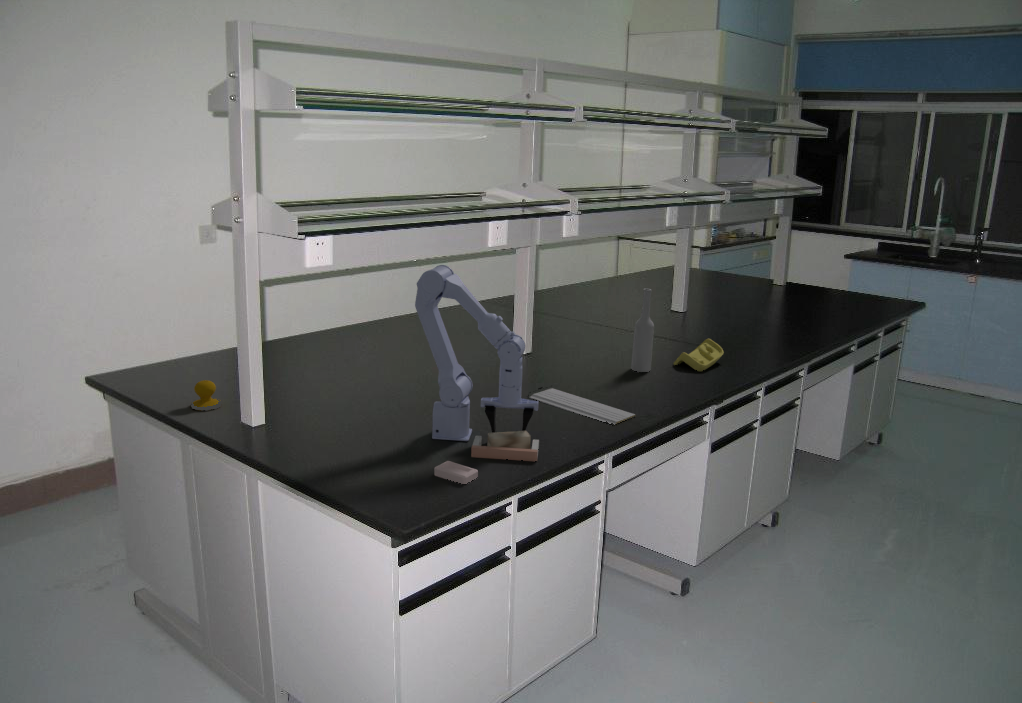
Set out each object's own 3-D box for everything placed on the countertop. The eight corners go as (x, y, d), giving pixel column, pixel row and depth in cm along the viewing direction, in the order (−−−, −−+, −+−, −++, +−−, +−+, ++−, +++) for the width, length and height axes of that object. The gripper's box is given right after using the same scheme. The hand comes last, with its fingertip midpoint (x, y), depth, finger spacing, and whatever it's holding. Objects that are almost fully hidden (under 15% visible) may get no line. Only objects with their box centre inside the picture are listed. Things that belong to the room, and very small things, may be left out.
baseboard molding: (609, 429, 218) (635, 419, 227) (610, 419, 218) (635, 409, 226) (525, 400, 239) (551, 392, 247) (526, 391, 238) (552, 383, 246)
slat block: (491, 454, 197) (491, 438, 196) (487, 447, 201) (487, 433, 200) (530, 451, 200) (530, 436, 198) (525, 445, 203) (526, 430, 202)
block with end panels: (471, 457, 195) (471, 447, 194) (475, 444, 202) (475, 435, 202) (536, 461, 193) (537, 452, 193) (538, 449, 201) (539, 439, 200)
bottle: (634, 373, 269) (641, 291, 261) (628, 367, 275) (634, 287, 267) (653, 372, 270) (660, 291, 263) (646, 367, 276) (653, 287, 269)
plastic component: (703, 366, 271) (680, 349, 275) (693, 383, 275) (670, 365, 279) (728, 351, 286) (705, 335, 290) (718, 367, 290) (696, 351, 294)
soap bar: (447, 468, 188) (447, 459, 188) (478, 479, 184) (479, 469, 183) (433, 476, 184) (433, 466, 183) (464, 487, 179) (465, 477, 179)
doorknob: (195, 413, 216) (187, 405, 222) (225, 408, 221) (216, 400, 227) (194, 387, 214) (185, 379, 220) (224, 382, 219) (214, 375, 225)
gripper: (539, 380, 204) (537, 430, 208) (483, 377, 205) (482, 427, 209) (538, 389, 197) (536, 440, 201) (480, 385, 198) (478, 437, 202)
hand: (508, 434), depth 204 cm, fingers open, 7 cm apart
